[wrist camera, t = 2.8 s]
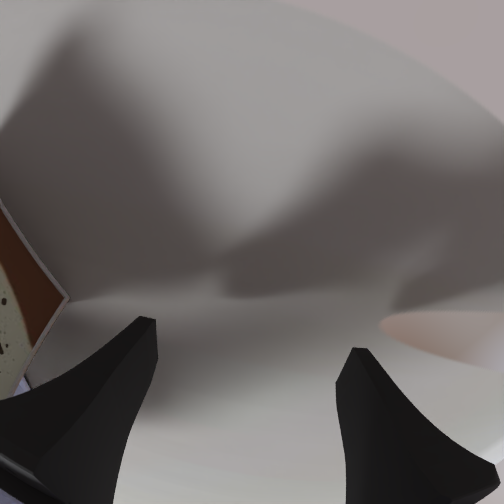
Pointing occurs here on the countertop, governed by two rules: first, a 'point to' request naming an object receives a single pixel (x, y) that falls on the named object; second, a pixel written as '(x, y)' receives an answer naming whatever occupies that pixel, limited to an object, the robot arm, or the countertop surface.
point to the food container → (23, 303)
